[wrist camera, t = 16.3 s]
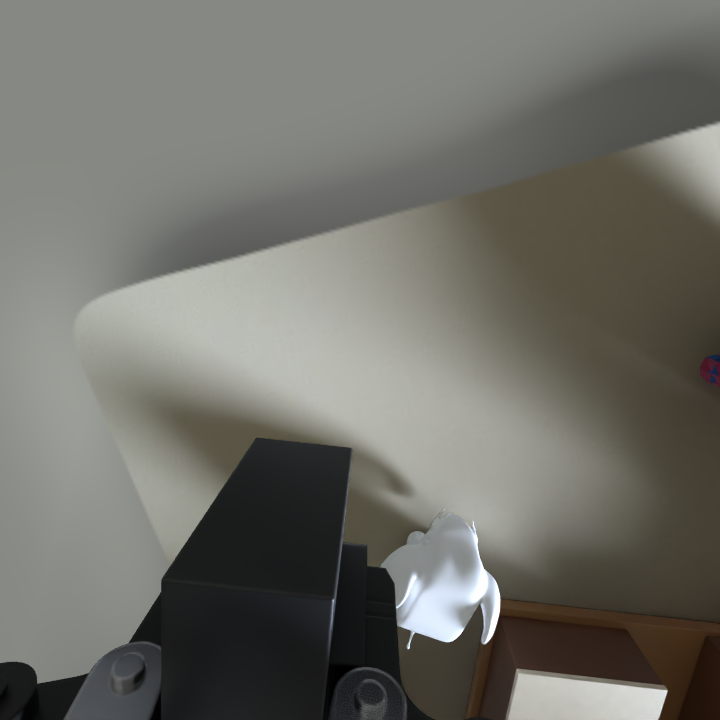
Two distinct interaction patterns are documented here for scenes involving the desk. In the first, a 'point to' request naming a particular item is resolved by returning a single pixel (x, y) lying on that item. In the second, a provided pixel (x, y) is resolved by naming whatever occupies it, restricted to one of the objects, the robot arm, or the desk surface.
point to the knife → (258, 590)
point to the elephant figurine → (442, 581)
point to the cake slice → (704, 685)
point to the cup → (711, 369)
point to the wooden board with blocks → (584, 664)
